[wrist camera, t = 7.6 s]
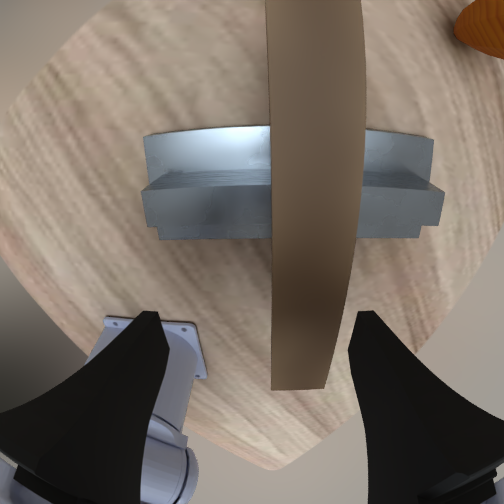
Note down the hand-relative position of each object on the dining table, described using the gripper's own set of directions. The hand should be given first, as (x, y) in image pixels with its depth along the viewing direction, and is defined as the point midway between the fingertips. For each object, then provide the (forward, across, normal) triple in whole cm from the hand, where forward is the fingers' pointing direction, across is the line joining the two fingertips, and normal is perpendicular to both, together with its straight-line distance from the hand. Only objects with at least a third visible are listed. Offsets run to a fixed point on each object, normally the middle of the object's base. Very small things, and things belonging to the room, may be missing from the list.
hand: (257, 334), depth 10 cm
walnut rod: (+6, -2, -3) cm, 7 cm away
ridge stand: (+10, -2, -3) cm, 11 cm away
